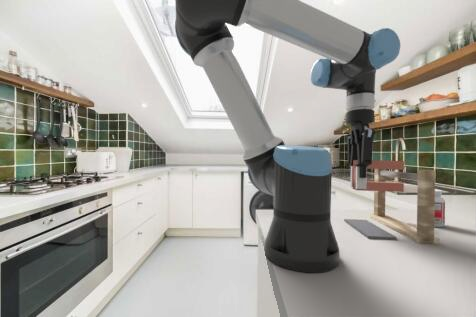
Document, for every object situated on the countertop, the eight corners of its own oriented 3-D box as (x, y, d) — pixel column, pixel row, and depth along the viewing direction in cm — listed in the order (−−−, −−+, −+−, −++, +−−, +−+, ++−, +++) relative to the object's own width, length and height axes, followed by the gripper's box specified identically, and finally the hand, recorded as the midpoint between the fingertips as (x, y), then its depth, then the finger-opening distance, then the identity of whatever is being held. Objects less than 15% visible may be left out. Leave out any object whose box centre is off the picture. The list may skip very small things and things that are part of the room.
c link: (356, 190, 66) (357, 160, 66) (352, 188, 69) (353, 159, 69) (403, 191, 65) (404, 161, 65) (397, 190, 68) (397, 160, 67)
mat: (368, 238, 57) (368, 236, 57) (344, 220, 73) (344, 219, 73) (396, 239, 57) (396, 237, 57) (366, 221, 73) (366, 219, 73)
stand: (418, 242, 55) (419, 170, 55) (370, 217, 78) (370, 166, 78) (439, 243, 54) (440, 170, 54) (384, 217, 78) (385, 166, 78)
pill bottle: (428, 221, 74) (429, 188, 74) (450, 227, 68) (450, 191, 68) (414, 222, 73) (414, 188, 73) (434, 228, 67) (434, 191, 67)
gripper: (388, 104, 59) (386, 192, 59) (360, 115, 75) (359, 185, 75) (359, 104, 59) (357, 191, 59) (337, 115, 75) (336, 184, 75)
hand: (358, 187), depth 67 cm, fingers closed on c link, 3 cm apart
